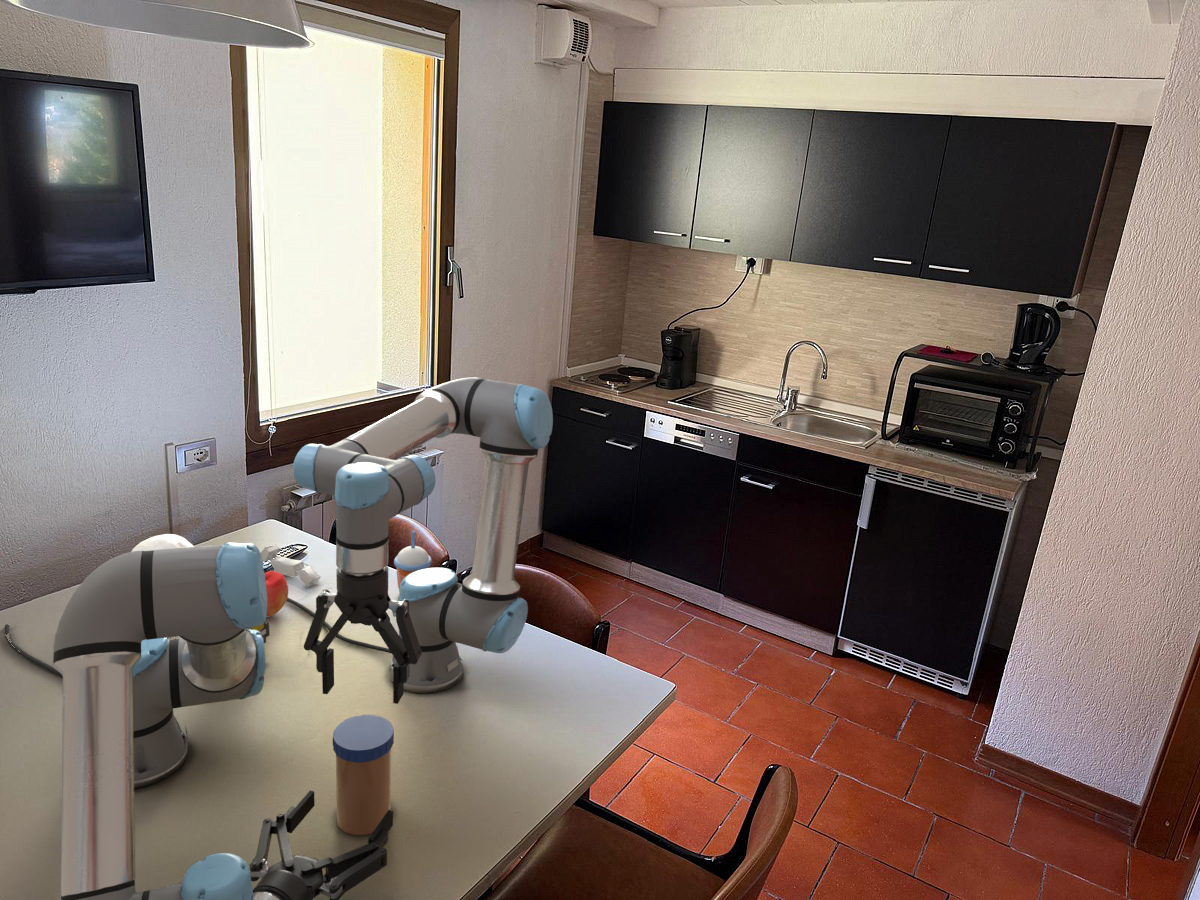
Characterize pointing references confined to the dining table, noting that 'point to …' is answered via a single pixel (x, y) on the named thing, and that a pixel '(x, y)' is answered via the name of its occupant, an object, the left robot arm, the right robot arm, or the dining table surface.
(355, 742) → the lid
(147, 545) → the skull
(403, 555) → the cup with straw
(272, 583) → the apple
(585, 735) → the dining table surface
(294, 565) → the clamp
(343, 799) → the jar
